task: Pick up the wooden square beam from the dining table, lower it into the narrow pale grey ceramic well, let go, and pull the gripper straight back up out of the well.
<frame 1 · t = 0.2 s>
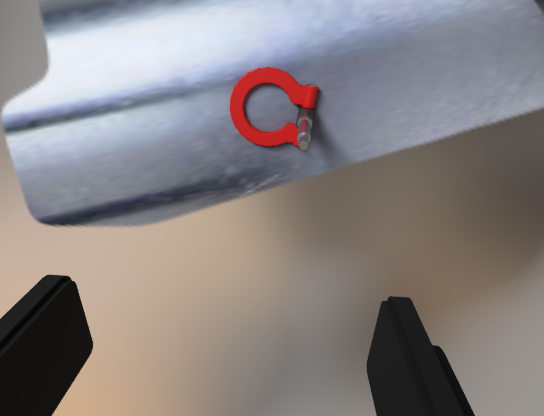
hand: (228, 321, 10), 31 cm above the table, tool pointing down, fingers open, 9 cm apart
tow hook: (271, 108, 38), on the table
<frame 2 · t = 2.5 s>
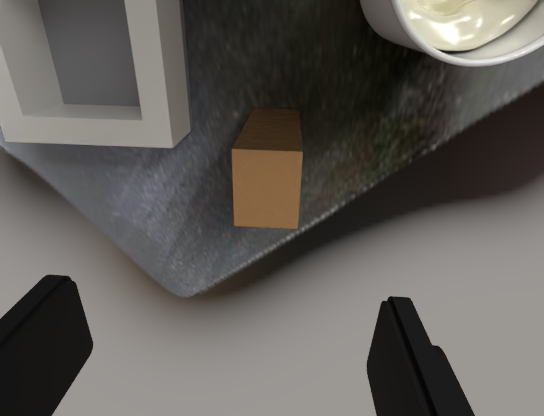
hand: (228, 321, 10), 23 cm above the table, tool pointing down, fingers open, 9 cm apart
well: (109, 47, 28), on the table
wooden square beam: (275, 136, 31), on the table
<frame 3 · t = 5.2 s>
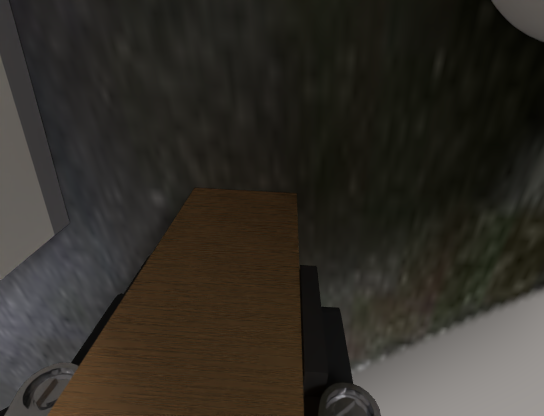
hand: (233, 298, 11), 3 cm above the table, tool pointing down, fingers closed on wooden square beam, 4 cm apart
wooden square beam: (245, 244, 14), on the table, touching gripper
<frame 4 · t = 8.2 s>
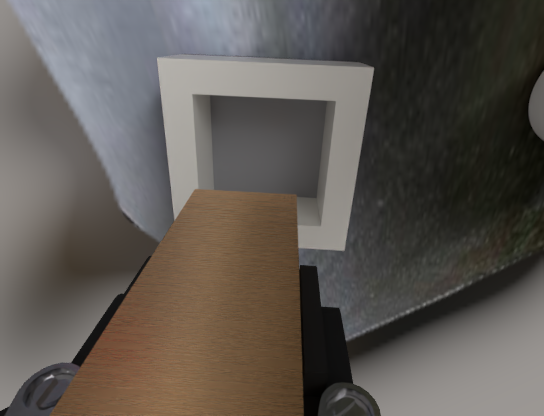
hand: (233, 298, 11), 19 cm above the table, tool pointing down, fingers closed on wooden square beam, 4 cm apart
well: (267, 141, 28), on the table
wooden square beam: (245, 245, 14), point 16 cm above the table, touching gripper
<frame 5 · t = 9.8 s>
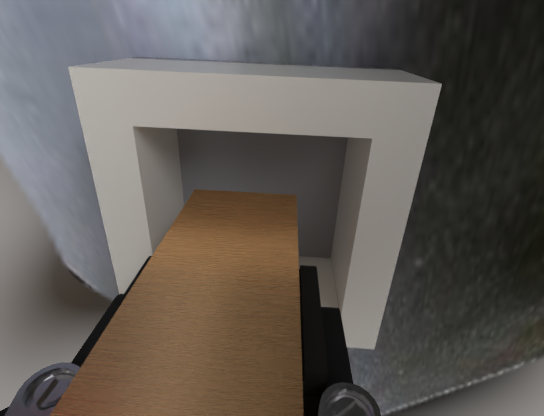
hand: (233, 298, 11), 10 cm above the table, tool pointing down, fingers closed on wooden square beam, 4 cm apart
well: (261, 181, 20), on the table
wooden square beam: (245, 245, 14), point 7 cm above the table, touching gripper
when the fingers open (6 cm above the table, at t = 11.3 s): wooden square beam drops 2 cm, resting on well.
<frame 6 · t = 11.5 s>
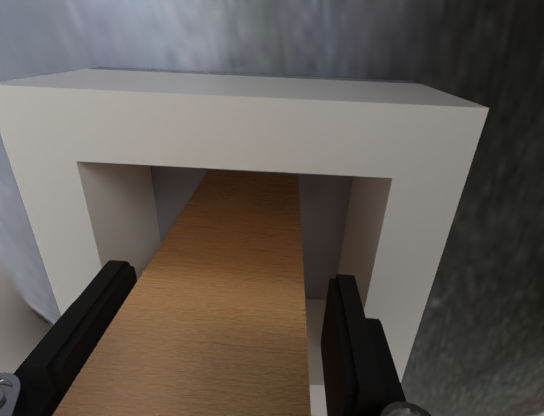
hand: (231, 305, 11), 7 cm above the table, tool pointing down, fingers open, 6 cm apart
well: (252, 212, 17), on the table
wooden square beam: (251, 221, 16), point 1 cm above the table, touching well
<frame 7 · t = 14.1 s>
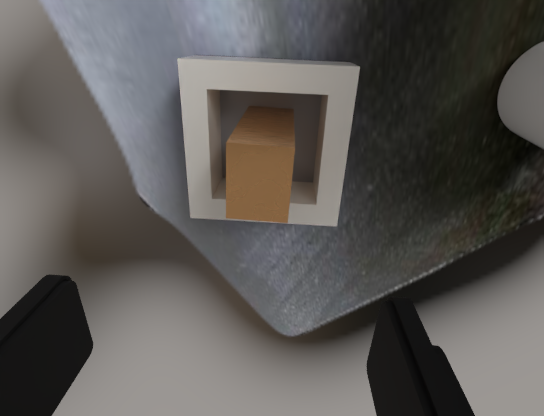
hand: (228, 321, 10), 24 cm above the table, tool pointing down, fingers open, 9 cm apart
well: (269, 132, 32), on the table
wooden square beam: (269, 134, 31), point 1 cm above the table, touching well
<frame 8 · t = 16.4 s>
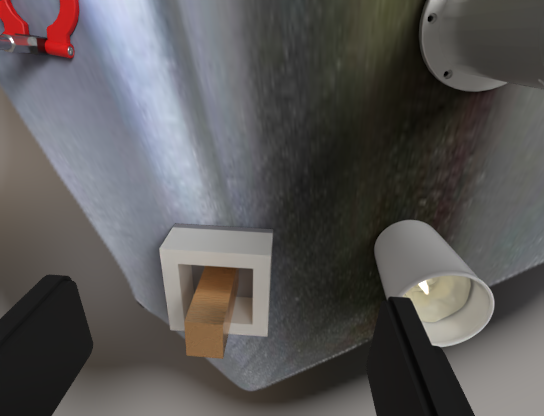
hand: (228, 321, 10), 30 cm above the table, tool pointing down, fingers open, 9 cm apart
tow hook: (39, 3, 34), on the table
well: (225, 266, 47), on the table
candle holder: (405, 245, 44), on the table
wooden square beam: (224, 270, 46), point 1 cm above the table, touching well
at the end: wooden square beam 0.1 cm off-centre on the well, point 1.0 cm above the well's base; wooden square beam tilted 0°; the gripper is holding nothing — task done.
